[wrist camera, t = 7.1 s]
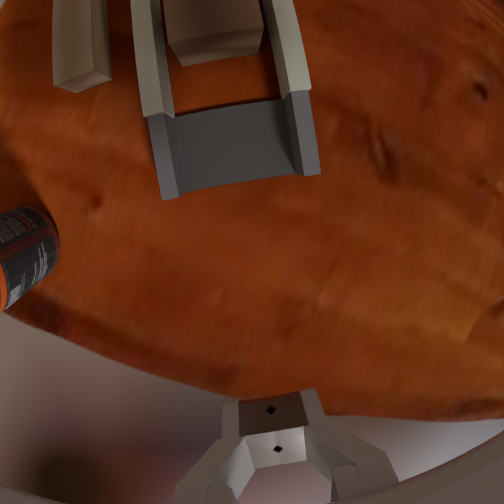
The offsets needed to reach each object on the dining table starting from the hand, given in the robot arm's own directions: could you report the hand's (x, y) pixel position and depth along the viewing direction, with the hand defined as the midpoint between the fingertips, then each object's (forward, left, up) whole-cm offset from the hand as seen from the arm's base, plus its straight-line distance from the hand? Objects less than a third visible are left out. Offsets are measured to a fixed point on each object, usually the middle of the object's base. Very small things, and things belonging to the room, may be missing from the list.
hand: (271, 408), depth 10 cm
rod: (+9, -22, -14) cm, 27 cm away
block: (0, -17, -14) cm, 22 cm away
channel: (0, -17, -13) cm, 22 cm away
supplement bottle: (+17, -5, -14) cm, 22 cm away
